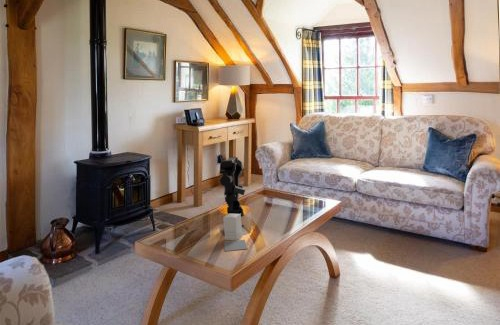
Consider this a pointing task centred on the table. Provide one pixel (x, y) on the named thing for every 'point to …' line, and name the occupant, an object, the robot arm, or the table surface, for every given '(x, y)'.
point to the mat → (235, 245)
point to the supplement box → (232, 226)
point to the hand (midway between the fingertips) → (231, 210)
